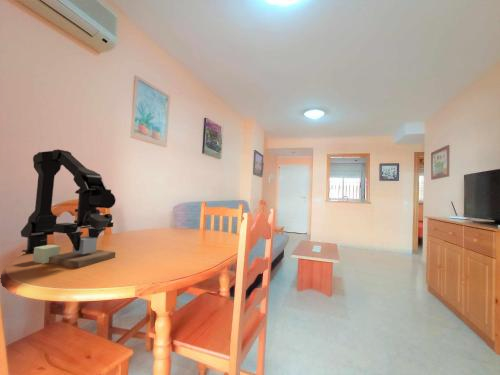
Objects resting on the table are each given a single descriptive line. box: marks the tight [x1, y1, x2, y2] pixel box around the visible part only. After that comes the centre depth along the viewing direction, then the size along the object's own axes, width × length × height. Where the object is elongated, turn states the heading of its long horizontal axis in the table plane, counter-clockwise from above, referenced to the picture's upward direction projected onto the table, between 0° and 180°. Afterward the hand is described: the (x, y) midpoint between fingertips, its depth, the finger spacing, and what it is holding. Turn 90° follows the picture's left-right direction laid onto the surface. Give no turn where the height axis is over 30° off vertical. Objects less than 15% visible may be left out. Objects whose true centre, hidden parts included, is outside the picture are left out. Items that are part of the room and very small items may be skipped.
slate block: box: [72, 235, 98, 254], centre depth 84 cm, size 5×5×5 cm
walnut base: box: [48, 248, 116, 269], centre depth 84 cm, size 14×14×2 cm
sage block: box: [32, 244, 61, 264], centre depth 81 cm, size 5×5×5 cm
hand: (84, 248), depth 84 cm, fingers closed on slate block, 5 cm apart
